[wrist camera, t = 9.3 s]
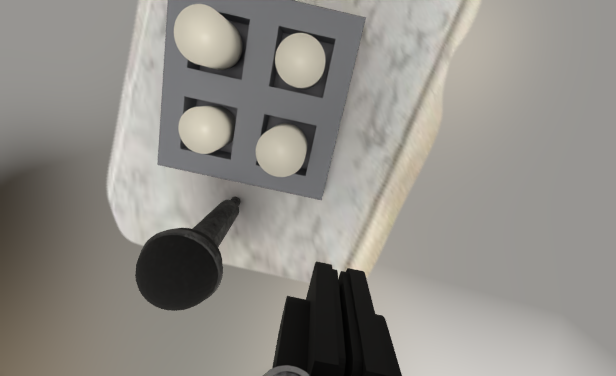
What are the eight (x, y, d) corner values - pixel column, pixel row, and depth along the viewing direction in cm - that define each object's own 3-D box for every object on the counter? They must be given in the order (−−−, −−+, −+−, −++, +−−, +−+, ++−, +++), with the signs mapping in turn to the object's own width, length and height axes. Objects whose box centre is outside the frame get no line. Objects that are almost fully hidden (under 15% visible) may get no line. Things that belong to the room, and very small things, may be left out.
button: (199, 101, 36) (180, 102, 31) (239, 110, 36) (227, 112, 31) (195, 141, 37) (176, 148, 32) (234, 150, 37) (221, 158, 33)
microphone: (239, 166, 39) (160, 231, 20) (271, 205, 40) (227, 302, 21) (201, 195, 40) (93, 282, 21) (233, 232, 42) (160, 346, 23)
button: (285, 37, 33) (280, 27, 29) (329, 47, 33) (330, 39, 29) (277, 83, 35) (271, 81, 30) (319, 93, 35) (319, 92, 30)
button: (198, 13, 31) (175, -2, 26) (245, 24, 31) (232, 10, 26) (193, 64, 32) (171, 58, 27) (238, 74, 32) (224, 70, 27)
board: (187, -14, 33) (169, -29, 29) (360, 26, 34) (365, 17, 30) (173, 158, 39) (157, 164, 35) (321, 190, 39) (321, 200, 36)
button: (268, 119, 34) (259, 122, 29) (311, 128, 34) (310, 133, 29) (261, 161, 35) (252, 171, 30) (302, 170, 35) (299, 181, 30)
